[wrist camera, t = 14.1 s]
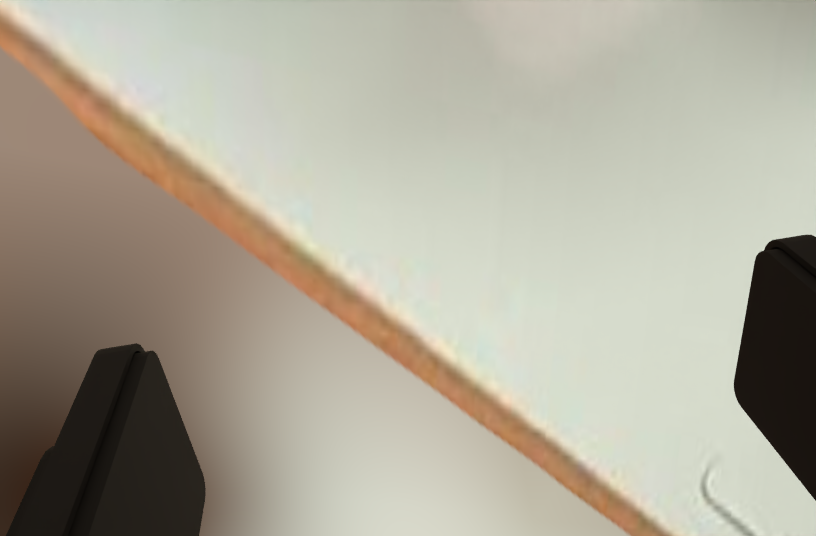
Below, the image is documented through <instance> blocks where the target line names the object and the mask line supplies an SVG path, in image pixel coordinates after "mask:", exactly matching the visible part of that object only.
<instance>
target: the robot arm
mask: <svg viewBox="0 0 816 536" xmlns="http://www.w3.org/2000/svg"><path fill="white" fill-rule="evenodd" d="M734 391H735V395H736V398H737V400H738V403H739V404H740V406H741V407H742V408H743V410H744V411H745V412H746V413H747V415H748V416H749V417H750V418H751V420H752V421H753V422H754V423H755V425H756V426H757V427H758V429H759V430H760V431H761V432H762V434H763V435H764V436H765V437H766V439H767V440H768V441H769V442H770V444H771V445H772V446H773V447H774V449H775V450H776V451H777V452H778V454H779V455H780V456H781V458H782V459H783V460H784V461H785V463H786V464H787V465H788V466H789V468H790V469H791V470H792V471H793V473H794V474H795V475H796V476H797V478H798V479H799V480H800V481H801V483H802V484H803V485H804V487H805V488H806V489H807V490H808V492H809V493H810V494H811V495H812V497H813V498H814V499H815V500H816V237H814V236H812V235H801V236H795V237H789V238H783V239H777V240H772V241H771V242H769V243H768V244H767V246H766V247H765V250H764V251H762V252H760V253H758V255H757V256H756V259H755V264H754V270H753V275H752V281H751V287H750V293H749V298H748V304H747V310H746V316H745V321H744V327H743V333H742V339H741V345H740V350H739V356H738V362H737V368H736V373H735V379H734ZM204 502H205V482H204V477H203V473H202V471H201V468H200V465H199V463H198V460H197V457H196V455H195V452H194V450H193V447H192V444H191V442H190V440H189V436H188V434H187V431H186V429H185V426H184V423H183V421H182V418H181V416H180V413H179V410H178V408H177V405H176V402H175V400H174V398H173V395H172V392H171V389H170V387H169V384H168V381H167V379H166V376H165V374H164V371H163V368H162V366H161V363H160V361H159V358H158V356H157V355H156V353H155V352H154V351H147V352H145V351H144V349H143V348H142V347H141V345H139V344H131V345H124V346H118V347H112V348H106V349H101V350H98V351H97V352H96V354H95V355H94V357H93V360H92V362H91V364H90V366H89V369H88V371H87V373H86V375H85V378H84V380H83V382H82V384H81V387H80V389H79V391H78V393H77V396H76V398H75V400H74V403H73V405H72V407H71V409H70V412H69V414H68V416H67V419H66V421H65V423H64V425H63V427H62V430H61V432H60V435H59V437H58V439H57V441H56V443H55V446H52V447H51V448H50V449H48V450H47V451H46V452H45V454H44V455H43V457H42V458H41V460H40V462H39V464H38V467H37V469H36V471H35V473H34V475H33V477H32V480H31V482H30V484H29V486H28V488H27V491H26V493H25V495H24V498H23V499H22V502H21V504H20V506H19V508H18V511H17V513H16V515H15V517H14V519H13V522H12V524H11V526H10V529H9V530H8V533H7V535H6V536H199V532H200V526H201V519H202V514H203V508H204Z"/></svg>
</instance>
